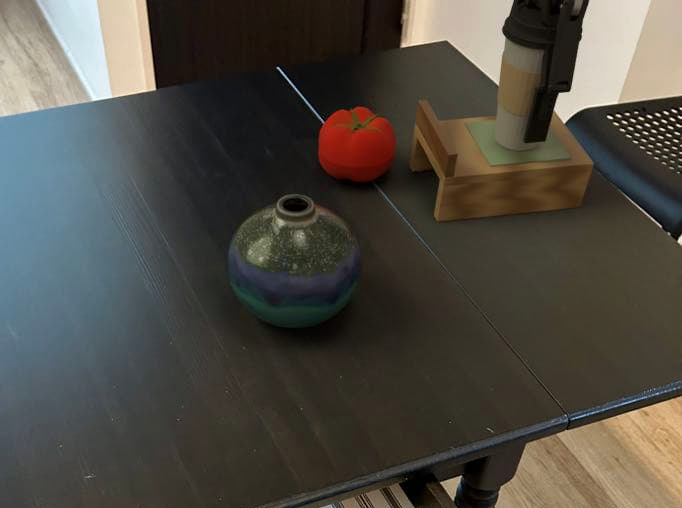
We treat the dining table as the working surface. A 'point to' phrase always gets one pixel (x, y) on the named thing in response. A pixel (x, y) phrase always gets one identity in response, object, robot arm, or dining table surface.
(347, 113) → the tomato
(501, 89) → the coffee cup
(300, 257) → the vase
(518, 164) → the wooden toy bed
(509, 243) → the dining table surface
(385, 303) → the dining table surface
